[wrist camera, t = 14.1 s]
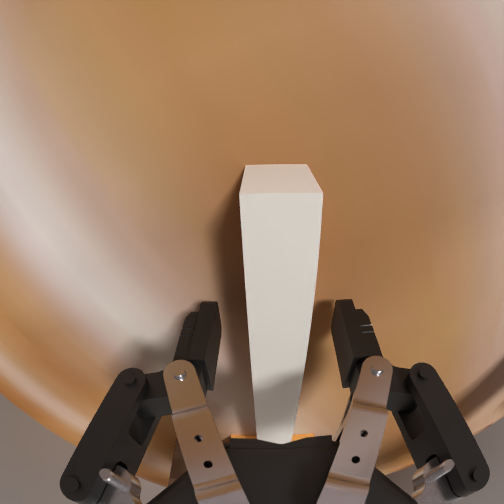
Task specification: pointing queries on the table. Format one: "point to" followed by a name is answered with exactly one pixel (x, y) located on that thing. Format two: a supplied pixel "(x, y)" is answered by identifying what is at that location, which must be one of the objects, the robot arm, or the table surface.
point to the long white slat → (279, 288)
